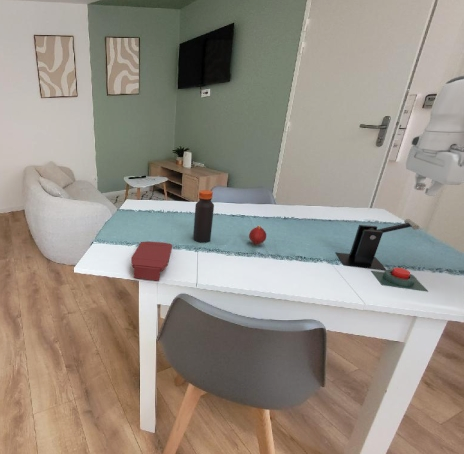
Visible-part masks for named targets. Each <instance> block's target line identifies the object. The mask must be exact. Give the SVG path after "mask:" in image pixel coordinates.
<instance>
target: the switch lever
mask: <svg viewBox="0 0 464 454" xmlns="http://www.w3.org/2000/svg"><path fill="white" fill-rule="evenodd" d="M403 222H404V223H400V224H396V225H391V226H387V227H382V228H377V230H374V229H373V228H369V229H365V230H374V231H382V232H383V234H384V233H389V232H393V231H398V230H403V229H406V228H407V229H408V228H411V229H412V230H415V231H416V230H419V229H420V225H419V224H417V223H416V222H414V221H413V220H411V219H410V218H406V219H404V221H403ZM361 231H362V234H363V231H364V230H361Z"/></svg>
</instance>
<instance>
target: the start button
mask: <svg viewBox="0 0 464 454" xmlns="http://www.w3.org/2000/svg"><path fill="white" fill-rule="evenodd" d="M392 269H393V271H392V273H391V274H392V275H393V276H395V277H398V278H402V279H408V278H409V276H410V274H411V271H409V270H407V269H406V268H401V267H393V268H392Z"/></svg>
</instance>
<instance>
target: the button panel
mask: <svg viewBox="0 0 464 454" xmlns="http://www.w3.org/2000/svg"><path fill="white" fill-rule="evenodd" d="M392 271H393V268H388V269H387V268H386V270H385V271H379V270H370V272H371V273H372V275H373V277H375V279H376V280H377V281H378V282H379V284H380V285H381V286H385V287H392V288H398V289H405V290H413V291H421V292H427V293H428V292H429V290H428V289H427V288H426V287H425V286H424V285H423V284H422V283H421V282H420V281H419V280H418V279H417V277H416V276H415V275H413V274H412V273H410V276H409V278H408V279H402V278H398V277H395V276H393V275H392V274H391V273H392Z"/></svg>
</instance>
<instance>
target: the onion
mask: <svg viewBox="0 0 464 454" xmlns="http://www.w3.org/2000/svg"><path fill="white" fill-rule="evenodd" d="M248 239H249V241H250V242H251V243H253V245H255V246H258V245H260V244H261V245H262V244H263V243H264V242H265V241H266V240H267V232H266V231H265V230H264V228H262V227H261V225H257V226H256V227H254V228H252V229H251V230H250V232H249V234H248Z"/></svg>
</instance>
